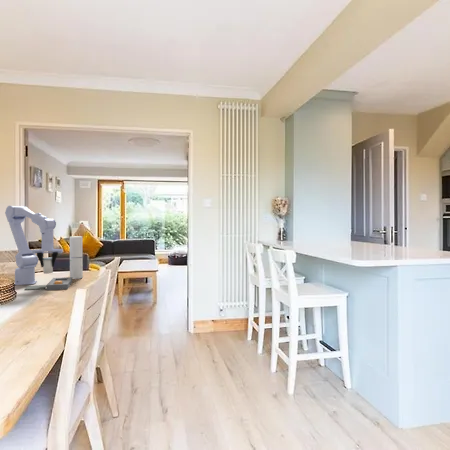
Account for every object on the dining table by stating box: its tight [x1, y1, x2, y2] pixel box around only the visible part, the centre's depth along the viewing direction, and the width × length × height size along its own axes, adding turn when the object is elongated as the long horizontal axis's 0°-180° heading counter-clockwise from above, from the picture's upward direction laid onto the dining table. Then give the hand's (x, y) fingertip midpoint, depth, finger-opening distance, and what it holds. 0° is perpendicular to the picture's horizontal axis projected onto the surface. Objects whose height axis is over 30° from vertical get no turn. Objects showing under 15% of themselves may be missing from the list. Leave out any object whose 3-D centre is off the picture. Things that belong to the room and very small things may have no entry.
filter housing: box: [45, 276, 73, 291], centre depth 195 cm, size 10×22×2 cm, turn 17°
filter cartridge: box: [42, 256, 54, 275], centre depth 193 cm, size 5×5×8 cm
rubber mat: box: [24, 284, 47, 291], centre depth 188 cm, size 9×9×1 cm
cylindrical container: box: [69, 235, 84, 280], centre depth 218 cm, size 7×7×25 cm
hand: (47, 266), depth 193 cm, fingers closed on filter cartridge, 5 cm apart
